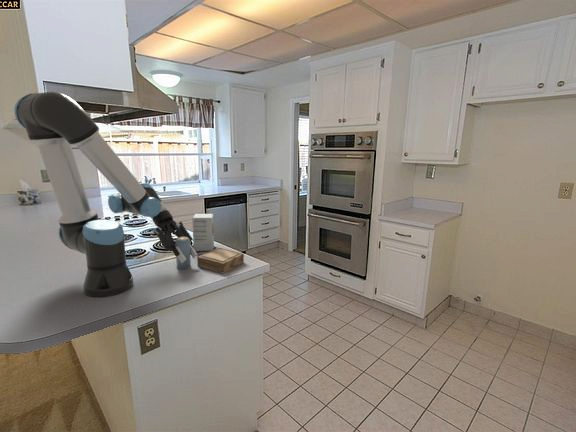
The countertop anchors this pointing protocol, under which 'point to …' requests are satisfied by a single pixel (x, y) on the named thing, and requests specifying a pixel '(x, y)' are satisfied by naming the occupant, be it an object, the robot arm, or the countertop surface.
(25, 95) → the robot arm
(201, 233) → the supplement box
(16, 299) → the countertop surface
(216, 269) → the walnut base
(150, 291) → the countertop surface
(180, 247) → the canister
